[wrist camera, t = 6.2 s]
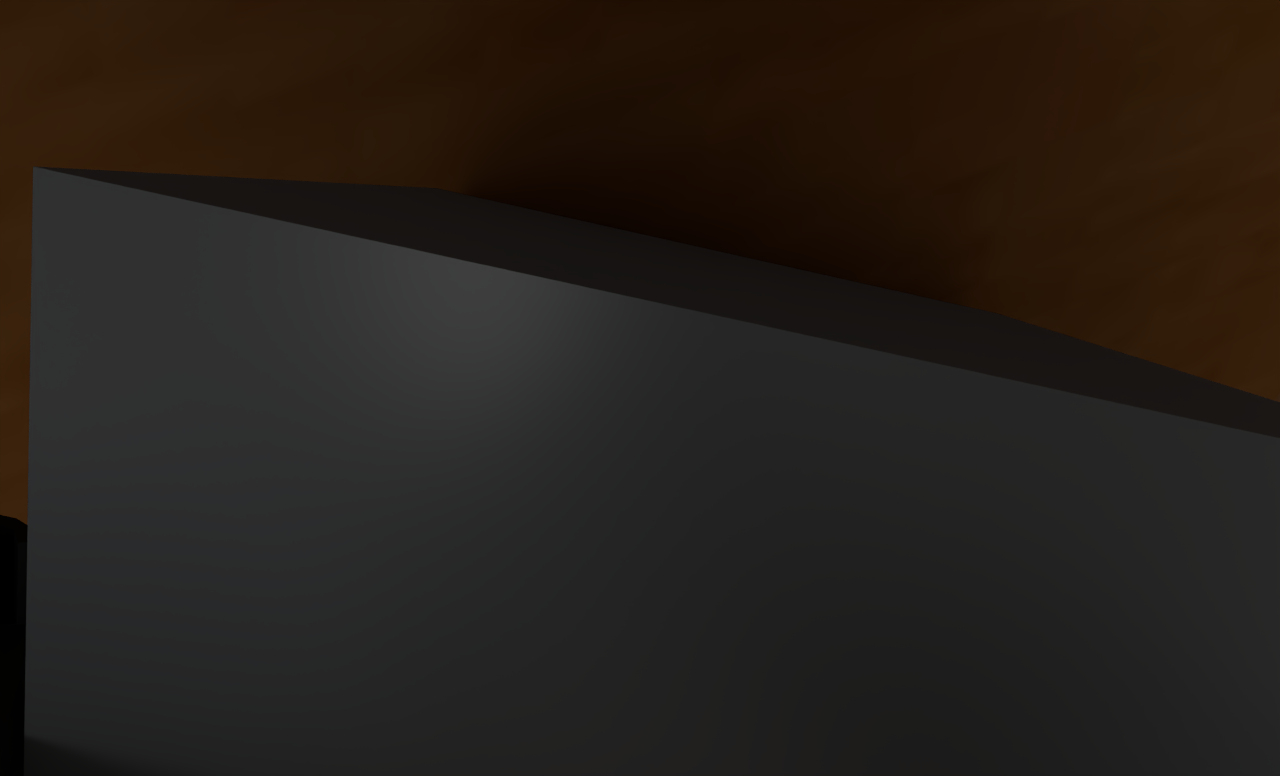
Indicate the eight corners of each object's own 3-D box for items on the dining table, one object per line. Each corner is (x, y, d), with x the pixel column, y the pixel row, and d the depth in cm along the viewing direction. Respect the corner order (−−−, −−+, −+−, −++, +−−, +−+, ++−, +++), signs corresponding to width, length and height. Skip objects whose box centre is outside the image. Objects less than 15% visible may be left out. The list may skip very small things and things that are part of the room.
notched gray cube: (436, 187, 13) (31, 166, 4) (998, 313, 13) (1649, 517, 5) (363, 691, 15) (14, 1324, 7) (840, 777, 16) (1083, 1457, 7)
